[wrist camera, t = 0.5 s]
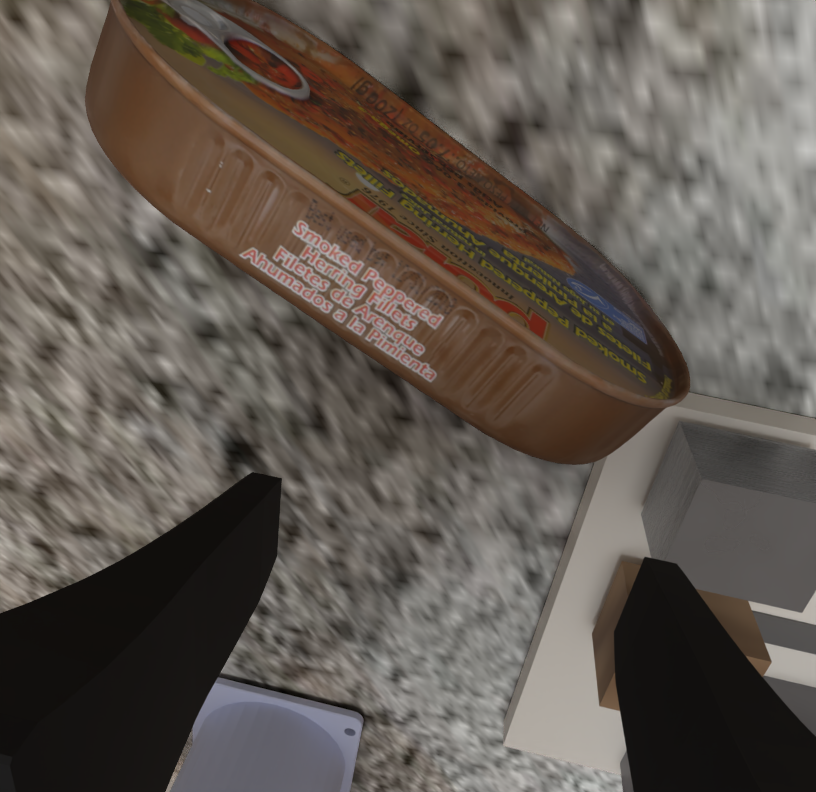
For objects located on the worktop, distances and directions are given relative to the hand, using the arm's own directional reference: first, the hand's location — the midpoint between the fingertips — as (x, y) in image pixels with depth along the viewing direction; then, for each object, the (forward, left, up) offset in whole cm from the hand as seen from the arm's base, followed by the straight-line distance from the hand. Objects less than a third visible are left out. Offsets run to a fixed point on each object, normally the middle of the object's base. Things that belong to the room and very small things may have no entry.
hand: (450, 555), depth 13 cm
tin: (+5, +2, -10) cm, 11 cm away
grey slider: (-2, -8, -8) cm, 11 cm away
